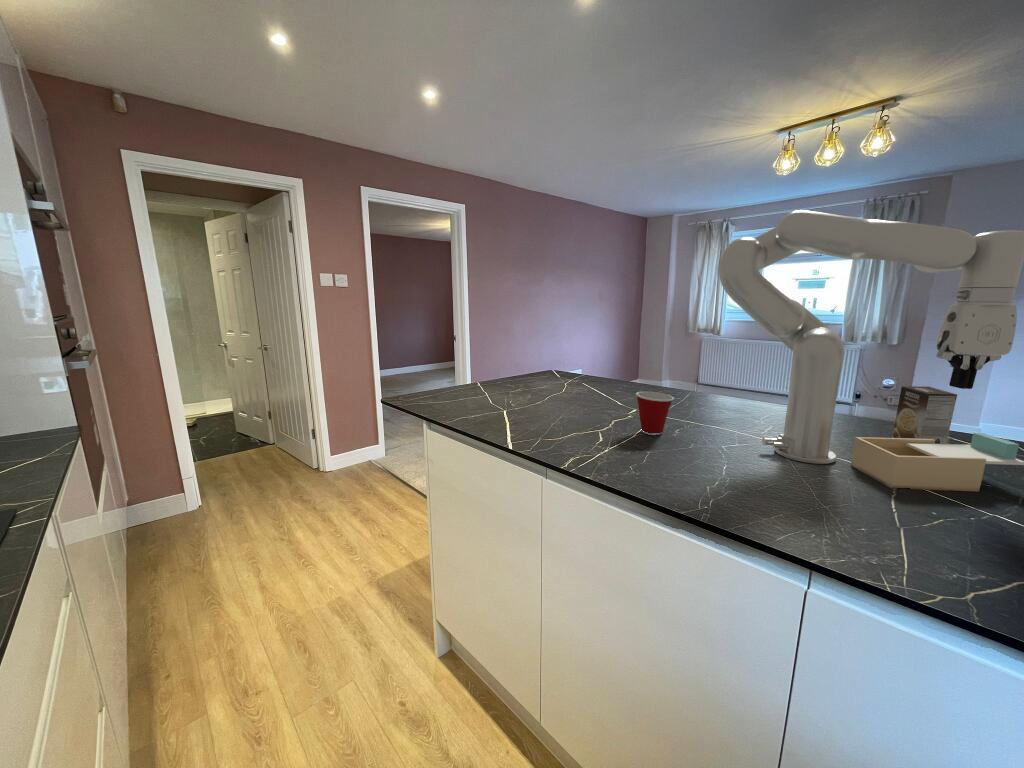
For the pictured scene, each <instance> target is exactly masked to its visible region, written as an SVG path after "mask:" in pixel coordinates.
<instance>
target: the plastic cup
mask: <svg viewBox="0 0 1024 768" xmlns="http://www.w3.org/2000/svg"><path fill="white" fill-rule="evenodd" d="M635 396H636V400H637V405H638V406H637V407H638V414H639V422H640V427H641V429H642V430H643V431H645V432H648V433H661V432H662V433H663V431H664V428H665V424H666V422H667V417H668V413H669V410H670V407H671V404H672V402H673V401H674V400H675V397H674V396H672V395H670V394H666V393H662V392H656V391H655V392H654V391H638V392H635ZM642 430H641V431H642Z"/></svg>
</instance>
